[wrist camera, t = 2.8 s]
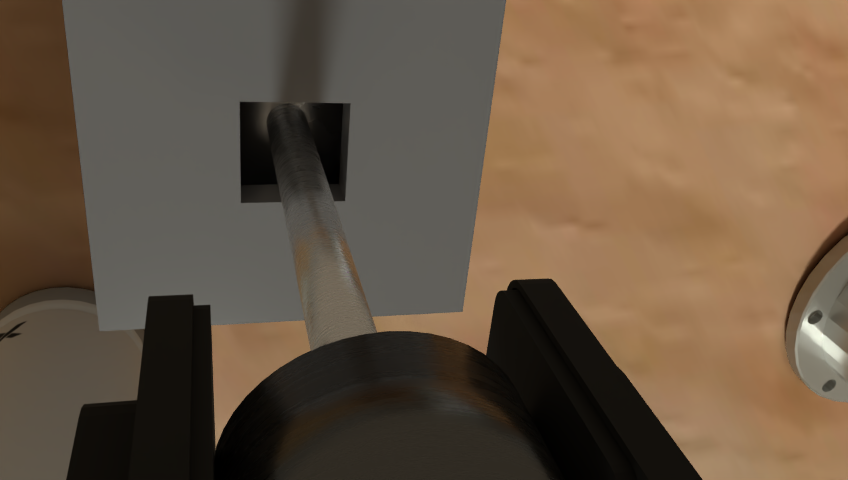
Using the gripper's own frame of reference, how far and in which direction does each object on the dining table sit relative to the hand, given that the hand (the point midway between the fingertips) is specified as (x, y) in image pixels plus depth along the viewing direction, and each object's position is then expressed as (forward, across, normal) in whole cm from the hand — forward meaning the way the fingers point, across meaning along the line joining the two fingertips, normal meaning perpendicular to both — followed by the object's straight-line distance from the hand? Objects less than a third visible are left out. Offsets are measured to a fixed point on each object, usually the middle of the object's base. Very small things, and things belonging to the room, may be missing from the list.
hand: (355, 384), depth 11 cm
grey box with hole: (+21, 0, 0) cm, 21 cm away
